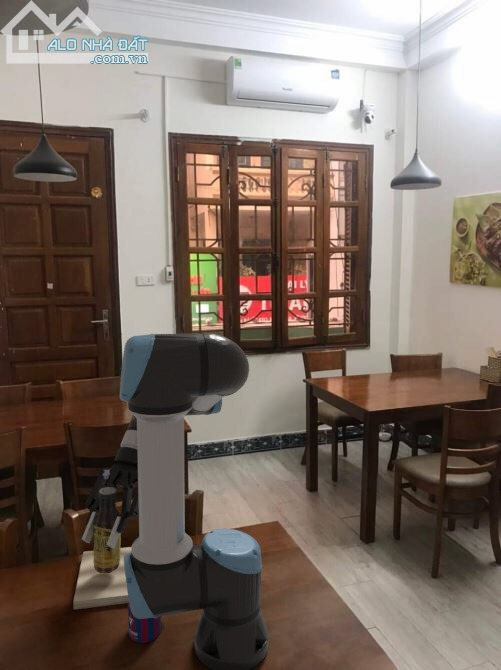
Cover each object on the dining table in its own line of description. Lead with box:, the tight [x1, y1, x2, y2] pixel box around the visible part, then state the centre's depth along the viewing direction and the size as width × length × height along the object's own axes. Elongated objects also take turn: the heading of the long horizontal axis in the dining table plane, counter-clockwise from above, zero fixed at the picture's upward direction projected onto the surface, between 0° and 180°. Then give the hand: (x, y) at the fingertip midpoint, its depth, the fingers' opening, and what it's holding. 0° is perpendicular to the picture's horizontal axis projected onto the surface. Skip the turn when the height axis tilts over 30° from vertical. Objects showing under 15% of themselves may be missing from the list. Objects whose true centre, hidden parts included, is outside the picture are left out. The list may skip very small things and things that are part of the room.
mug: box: [127, 602, 163, 644], centre depth 109 cm, size 7×10×7 cm
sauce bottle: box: [93, 486, 122, 573], centre depth 123 cm, size 6×6×20 cm
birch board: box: [73, 546, 132, 611], centre depth 126 cm, size 20×14×2 cm
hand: (98, 543), depth 119 cm, fingers closed on sauce bottle, 6 cm apart
